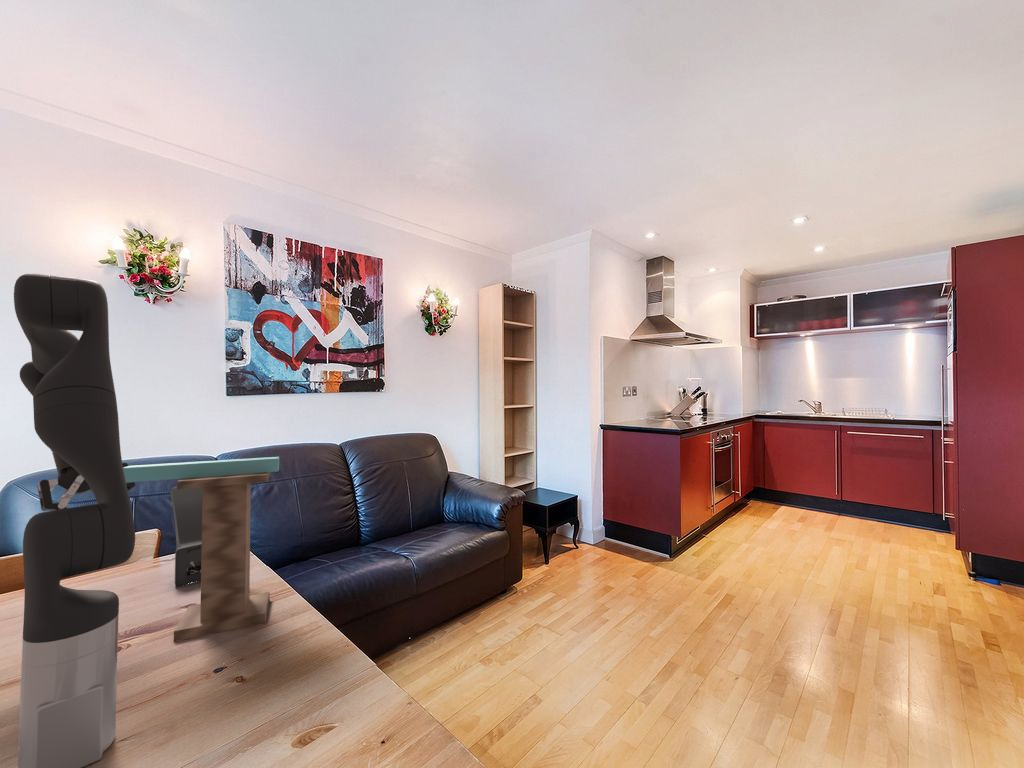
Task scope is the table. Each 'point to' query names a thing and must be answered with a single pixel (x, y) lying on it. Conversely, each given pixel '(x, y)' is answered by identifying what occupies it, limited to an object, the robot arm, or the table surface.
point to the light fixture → (187, 534)
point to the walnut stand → (224, 558)
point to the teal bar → (200, 469)
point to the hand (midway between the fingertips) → (97, 518)
